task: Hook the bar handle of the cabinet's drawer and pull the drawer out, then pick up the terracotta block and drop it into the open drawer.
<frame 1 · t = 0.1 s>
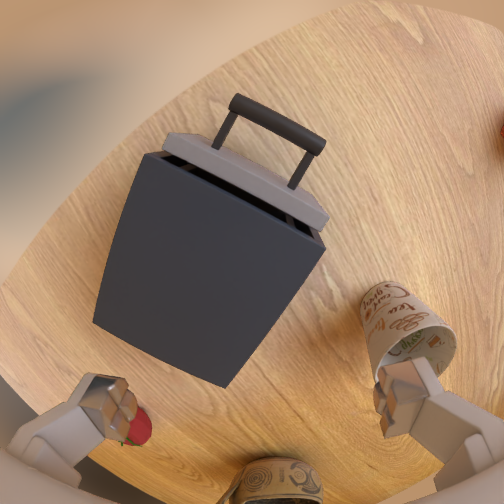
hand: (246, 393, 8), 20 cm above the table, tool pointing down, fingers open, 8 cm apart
ceramic bowl: (276, 461, 44), on the table
mug: (384, 318, 31), on the table
drawer: (225, 219, 22), point 5 cm above the table, slide at 0.5 cm
cabinet: (212, 245, 28), on the table
tomato: (135, 409, 40), on the table
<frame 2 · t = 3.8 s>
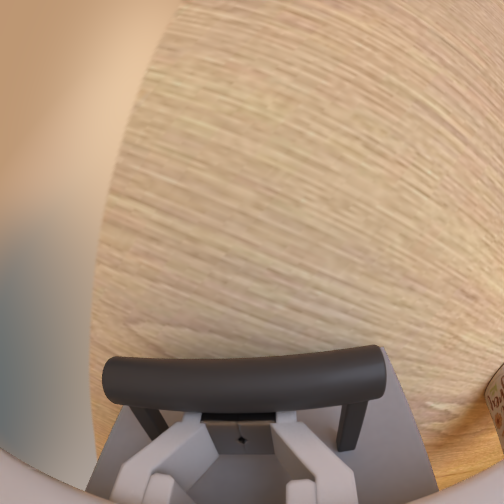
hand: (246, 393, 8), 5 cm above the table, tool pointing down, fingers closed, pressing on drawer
drawer: (267, 477, 10), point 5 cm above the table, slide at 2.2 cm, touching gripper
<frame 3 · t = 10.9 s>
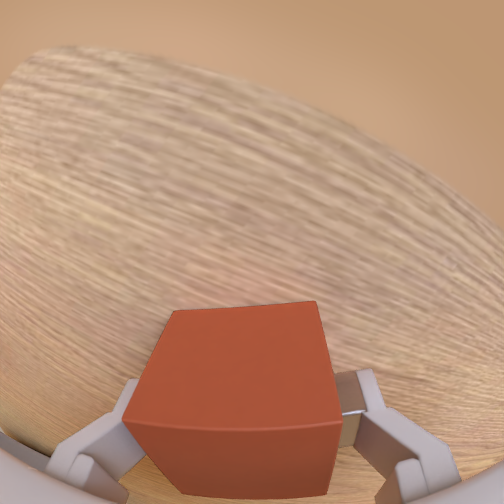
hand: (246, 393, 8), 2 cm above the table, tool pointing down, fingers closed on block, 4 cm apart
drawer: (37, 493, 14), point 5 cm above the table, slide at 8.4 cm
block: (251, 359, 10), on the table, touching gripper
when the fingers open (8 cm above the table, at t = 18.7 s): block stays where it is, resting on drawer.
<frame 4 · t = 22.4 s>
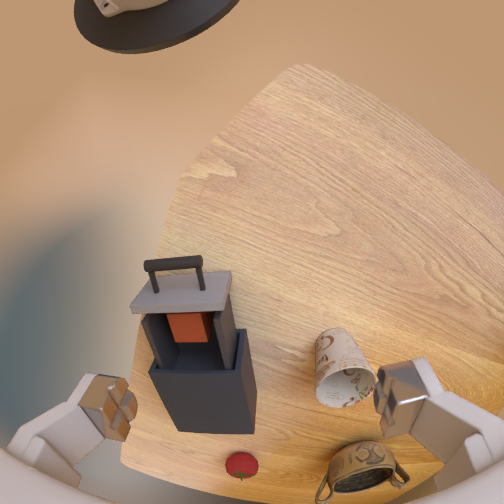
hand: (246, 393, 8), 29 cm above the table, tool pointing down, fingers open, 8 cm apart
ceramic bowl: (356, 446, 55), on the table
mug: (342, 348, 43), on the table
drawer: (189, 318, 36), point 5 cm above the table, slide at 8.9 cm, touching block
cabinet: (214, 364, 46), on the table
tomato: (243, 454, 58), on the table
block: (194, 309, 39), point 2 cm above the table, touching drawer
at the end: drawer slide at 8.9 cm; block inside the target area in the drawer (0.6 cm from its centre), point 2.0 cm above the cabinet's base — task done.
